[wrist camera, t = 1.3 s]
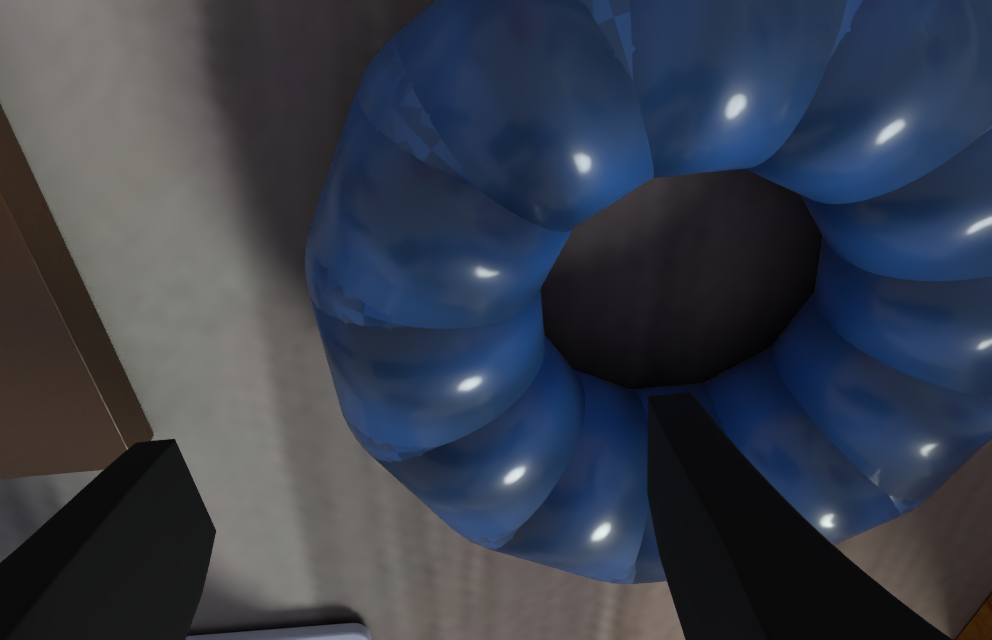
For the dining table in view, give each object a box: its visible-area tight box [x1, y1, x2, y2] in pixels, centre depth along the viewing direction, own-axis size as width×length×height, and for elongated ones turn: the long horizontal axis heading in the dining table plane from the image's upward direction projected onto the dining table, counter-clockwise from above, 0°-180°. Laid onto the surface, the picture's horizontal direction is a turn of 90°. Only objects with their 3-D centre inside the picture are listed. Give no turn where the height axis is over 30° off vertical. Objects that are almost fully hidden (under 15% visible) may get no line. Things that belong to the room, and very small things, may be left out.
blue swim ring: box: [304, 0, 992, 584], centre depth 15 cm, size 14×14×4 cm
